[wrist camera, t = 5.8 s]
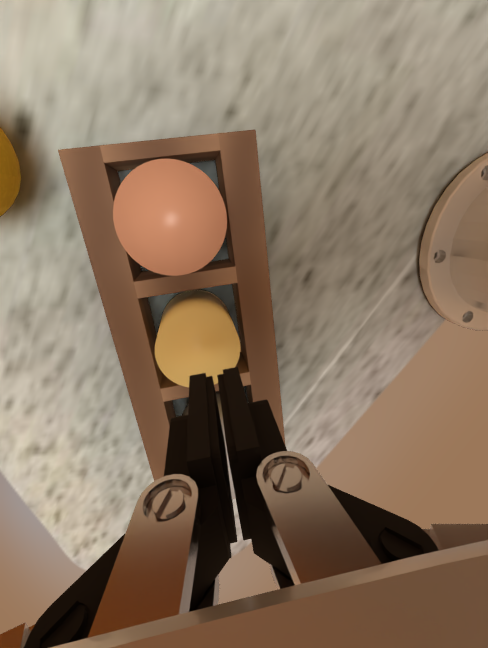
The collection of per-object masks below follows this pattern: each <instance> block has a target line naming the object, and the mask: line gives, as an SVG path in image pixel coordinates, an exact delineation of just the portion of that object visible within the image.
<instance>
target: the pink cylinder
mask: <svg viewBox="0 0 488 648" xmlns="http://www.w3.org/2000/svg"><path fill="white" fill-rule="evenodd" d="M113 221H114V226H115V230H116V233H117V236H118V238H119V240H120V243H121V244H122V246H123V247H124V249H125V250H126V252H127V253H128V254H129V255H130V256H131V257H132V258H133V259H134V260H135V261H136V262H137V263H139V264H140V265H141V266H143V267H145V268H146V269H148V270H150V271H153V272H155V273H159V274H163V275H169V276H178V275H185V274H190V273H192V272H195V271H197V270H199V269H201V268H203V267H204V266H205V265H207V264H208V263H209V262H210V261H211V260H212V259H213V258H214V257H215V256H216V254H217V253H218V251H219V250H220V248H221V246H222V244H223V241H224V238H225V235H226V229H227V213H226V208H225V204H224V201H223V198H222V196H221V194H220V192H219V190H218V189H217V187H216V185H215V184H214V183H213V181H212V180H211V179H210V178H209V177H208V176H207V175H206V174H205V173H204V172H202V171H201V170H200V169H198V168H197V167H195V166H193V165H191V164H189V163H186V162H184V161H180V160H176V159H156V160H151V161H149V162H146V163H143V164H142V165H140V166H138V167H136V168H135V169H134V170H132V171H131V172H130V173H129V174H128V175H127V176H126V177H125V179H124V180H123V181H122V183H121V185H120V186H119V188H118V191H117V193H116V196H115V200H114V205H113Z"/></svg>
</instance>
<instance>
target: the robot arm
mask: <svg viewBox="0 0 488 648" xmlns="http://www.w3.org/2000/svg"><path fill="white" fill-rule="evenodd" d="M419 266H420V279H421V282H422V286H423V290H424V293H425V295H426V297H427V299H428V301H429V303H430V305H431V306H432V307H433V308H434V309H435V310H436V311H437V313H438V314H439V315H441V316H442V317H444V318H445V319H447V320H448V321H450V322H452V323H454V324H457V325H459V326H461V327H464V328H468V329H472V330H482V331H483V330H484V331H488V153H487V154H485V155H483V156H481V157H480V158H478V159H476V160H475V161H474V162H472V163H471V164H470V165H469V166H468V167H466V168H465V169H464V170H463V171H462V172H460V173H459V174H458V176H457V177H456V178H455V179H454V180H453V181H452V183H451V184H450V185H449V186H448V187H447V188H446V190H445V191H444V193H443V194H442V196H441V197H440V199H439V200H438V202H437V204H436V205H435V207H434V209H433V211H432V214H431V216H430V218H429V220H428V222H427V225H426V228H425V232H424V235H423V239H422V242H421V250H420V258H419ZM217 378H218V385H219V393H220V400H221V408H222V416H223V423H224V431H225V439H226V446H227V453H228V459H229V465H230V470H231V475H232V481H233V486H234V492H235V497H236V502H237V508H238V513H239V519H240V524H241V529H242V535H243V540H247V539H252V545H253V551H254V553H255V554H256V555H257V556H259V557H260V558H262V559H263V560H265V561H266V562H268V563H269V565H270V570H271V574H272V577H273V579H274V582H275V585H276V588H277V590H275V591H271V592H267V593H263V594H259V595H255V596H251V597H247V598H243V599H239V600H235V601H231V602H227V603H223V604H219V605H218V601H219V585H220V584H219V575H218V574H219V573H220V571H221V570H222V568H223V567H224V566H225V564H226V563H227V561H228V560H229V558H231V549H230V543H234V542H237V535H236V527H235V519H234V511H233V503H232V495H231V487H230V479H229V471H228V463H227V455H226V448H225V441H224V436H223V430H222V425H221V420H220V414H219V409H218V403H217V398H216V393H215V387H214V382H213V377H212V376H208V377H206V373H202V374H196V375H191V376H190V378H189V406H188V415H184V416H179V417H174V418H171V421H170V428H169V436H168V445H167V453H166V461H165V470H164V477H162V478H160V479H157V480H156V481H154V482H153V483H152V484H150V485H149V486H148V487H147V488H146V489H145V490H144V491H143V492H142V494H141V495H140V497H139V499H138V501H137V504H136V506H135V509H134V512H133V514H132V517H131V520H130V523H129V525H128V528H127V531H126V533H125V534H124V535H123V536H122V537H121V538H120V539H119V540H118V541H117V542H116V543H115V544H114V545H113V546H112V547H111V548H110V549H109V550H108V551H107V552H105V553H104V554H103V555H102V556H101V557H100V558H99V559H98V560H97V561H96V562H95V563H94V564H93V565H92V566H91V567H90V568H89V569H88V570H87V571H86V572H85V573H84V574H83V575H82V576H81V577H80V578H79V579H78V580H77V581H76V582H74V583H73V584H72V585H71V586H70V588H68V589H67V590H66V591H65V592H64V593H63V594H62V595H61V596H60V597H59V598H58V599H57V600H56V601H55V602H54V603H53V604H52V605H51V606H50V607H49V608H48V609H47V610H46V611H45V612H44V614H43V615H42V616H41V617H40V618H39V619H38V621H37V622H36V624H35V625H32V626H31V627H28V626H27V624H26V623H23V624H21V625H19V626H17V627H14V628H13V629H10V630H8V631H6V632H4V633H2V634H0V648H488V524H431V528H430V529H421V528H420V527H419V526H417V525H416V524H414V523H412V522H410V521H409V520H407V519H404V518H402V517H400V516H398V515H395V514H393V513H391V512H388V511H386V510H384V509H382V508H379V507H377V506H375V505H373V504H370V503H368V502H366V501H364V500H361V499H359V498H357V497H354V496H352V495H350V494H348V493H345V492H343V491H341V490H339V489H336V488H334V487H332V486H330V485H327V483H326V482H325V480H324V479H323V478H322V476H321V475H320V473H319V472H318V470H317V469H316V467H315V466H314V464H313V463H312V462H311V461H310V460H309V459H308V458H307V457H305V456H303V455H302V454H300V453H296V452H292V451H287V449H286V447H285V444H284V441H283V439H282V436H281V434H280V431H279V428H278V426H277V423H276V420H275V418H274V415H273V413H272V410H271V407H270V405H269V402H268V400H267V399H266V400H261V401H256V402H251V403H248V402H247V399H246V395H245V391H244V388H243V384H242V380H241V377H240V373H239V369H238V367H235V368H229V369H224V370H223V374H219V375H217Z"/></svg>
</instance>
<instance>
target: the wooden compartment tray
mask: <svg viewBox="0 0 488 648" xmlns="http://www.w3.org/2000/svg"><path fill="white" fill-rule="evenodd" d="M58 152H59V155H60V159H61V162H62V166H63V169H64V172H65V176H66V179H67V183H68V186H69V190H70V193H71V197H72V200H73V203H74V207H75V210H76V214H77V217H78V221H79V224H80V227H81V231H82V234H83V238H84V241H85V245H86V248H87V251H88V255H89V258H90V262H91V265H92V269H93V272H94V275H95V279H96V282H97V286H98V289H99V293H100V296H101V299H102V303H103V306H104V310H105V313H106V317H107V320H108V323H109V327H110V330H111V334H112V337H113V341H114V344H115V347H116V351H117V354H118V358H119V361H120V365H121V368H122V372H123V375H124V378H125V382H126V385H127V389H128V392H129V396H130V399H131V402H132V406H133V409H134V413H135V416H136V420H137V423H138V426H139V430H140V433H141V437H142V440H143V444H144V447H145V450H146V454H147V457H148V461H149V464H150V468H151V471H152V474H153V478H154V481H156V480H157V479H160V478H162V477H164V470H165V461H166V453H167V445H168V436H169V428H170V421H171V418H174V417H176V415H175V411H174V407H173V402H172V400H175V399H180V398H185V397H189V387H184V386H181V385H178V384H176V383H174V382H173V381H171V380H170V379H169V378H167V377H166V376H165V375H164V374H163V373H162V371H161V370H160V368H159V366H158V364H157V361H156V358H155V342H156V338H157V335H156V331H155V327H154V322H153V318H152V314H151V310H150V306H149V301H148V297H151V296H157V295H163V294H170V293H176V292H182V291H188V290H195V289H201V288H207V287H214V286H220V285H226V284H232V286H233V293H234V300H235V308H236V315H237V322H238V329H239V337H240V344H241V351H242V352H240V356H239V360H238V362H237V364H236V366H235V367H238V369H239V373H240V377H241V380H242V384H243V386H246V388H247V395H248V402H249V403H251V402H256V401H261V400H266V399H267V400H268V402H269V405H270V407H271V410H272V413H273V415H274V418H275V420H276V423H277V426H278V428H279V431H280V434H281V436H282V439H283V441H284V444H285V438H284V427H283V417H282V406H281V396H280V385H279V374H278V364H277V353H276V343H275V332H274V321H273V311H272V300H271V290H270V279H269V269H268V258H267V247H266V237H265V226H264V216H263V205H262V194H261V184H260V173H259V163H258V152H257V142H256V131H255V130H247V131H237V132H228V133H218V134H208V135H198V136H189V137H179V138H169V139H159V140H150V141H140V142H130V143H120V144H111V145H101V146H91V147H81V148H72V149H62V150H58ZM156 159H176V160H180V161H184V162H186V163H192V162H201V161H210V160H215V162H216V169H217V177H218V184H219V191H220V194H221V196H222V198H223V201H224V204H225V208H226V213H227V229H226V242H227V249H228V257H229V259H225V260H218V261H211V262H209V263H208V264H207V265H205V266H204V267H203V268H201V269H199V270H197V271H195V272H192V273H190V274H185V275H178V276H169V275H163V274H159V273H155V272H153V271H144V272H141V268H140V264H139V263H137V262H136V261H135V260H134V259H133V258H132V257H131V256H130V255H129V254H128V253H127V252H126V250H125V249H124V247H123V246H122V244H121V243H120V240H119V238H118V236H117V233H116V230H115V226H114V221H113V205H114V200H115V196H116V193H117V191H118V188H119V186H120V185H121V183H120V179H119V175H118V171H121V170H129V169H135V168H136V167H138V166H140V165H142V164H143V163H146V162H149V161H151V160H156ZM214 387H215V392H216V391H219V385H218V383H217V384H215V385H214Z"/></svg>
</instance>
